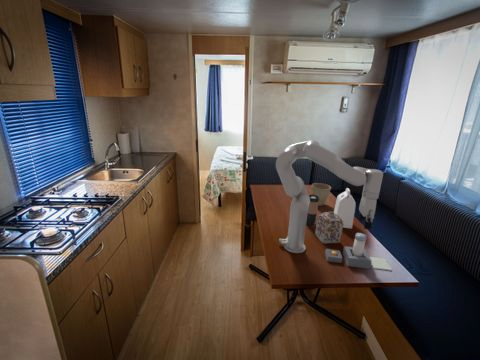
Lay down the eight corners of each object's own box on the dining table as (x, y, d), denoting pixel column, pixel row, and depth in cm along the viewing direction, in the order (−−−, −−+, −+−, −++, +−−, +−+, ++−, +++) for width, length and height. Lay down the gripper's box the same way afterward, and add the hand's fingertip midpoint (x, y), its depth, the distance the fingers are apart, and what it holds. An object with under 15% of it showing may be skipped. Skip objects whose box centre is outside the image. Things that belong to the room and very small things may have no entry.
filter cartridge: (351, 263, 142) (357, 237, 137) (349, 257, 147) (354, 232, 142) (362, 264, 141) (368, 238, 136) (359, 258, 146) (364, 233, 141)
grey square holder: (347, 265, 139) (348, 257, 138) (342, 253, 150) (344, 246, 148) (369, 268, 138) (371, 260, 136) (363, 256, 148) (365, 248, 147)
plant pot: (330, 208, 210) (333, 189, 205) (312, 207, 210) (314, 188, 205) (325, 200, 225) (327, 183, 219) (307, 200, 225) (310, 182, 220)
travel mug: (317, 225, 182) (321, 198, 175) (307, 226, 180) (311, 199, 173) (311, 220, 189) (315, 194, 182) (302, 221, 187) (305, 195, 180)
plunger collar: (327, 261, 142) (328, 256, 141) (325, 253, 150) (325, 248, 149) (341, 263, 141) (342, 258, 140) (338, 254, 149) (339, 250, 148)
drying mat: (373, 268, 138) (374, 267, 138) (367, 257, 148) (368, 256, 147) (391, 270, 137) (392, 269, 137) (384, 259, 146) (385, 258, 146)
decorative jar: (340, 243, 161) (345, 216, 155) (322, 244, 159) (327, 217, 153) (330, 233, 172) (335, 208, 166) (314, 234, 170) (318, 209, 164)
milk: (352, 228, 179) (359, 193, 171) (334, 226, 181) (340, 191, 173) (348, 220, 190) (355, 187, 182) (332, 218, 192) (338, 185, 184)
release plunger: (330, 259, 144) (331, 253, 143) (329, 255, 147) (330, 250, 146) (336, 259, 144) (337, 254, 143) (335, 256, 147) (336, 251, 146)
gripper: (358, 187, 140) (352, 216, 145) (368, 199, 124) (361, 231, 129) (372, 188, 139) (366, 217, 144) (384, 201, 123) (377, 233, 128)
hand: (364, 224), depth 137 cm, fingers open, 9 cm apart
